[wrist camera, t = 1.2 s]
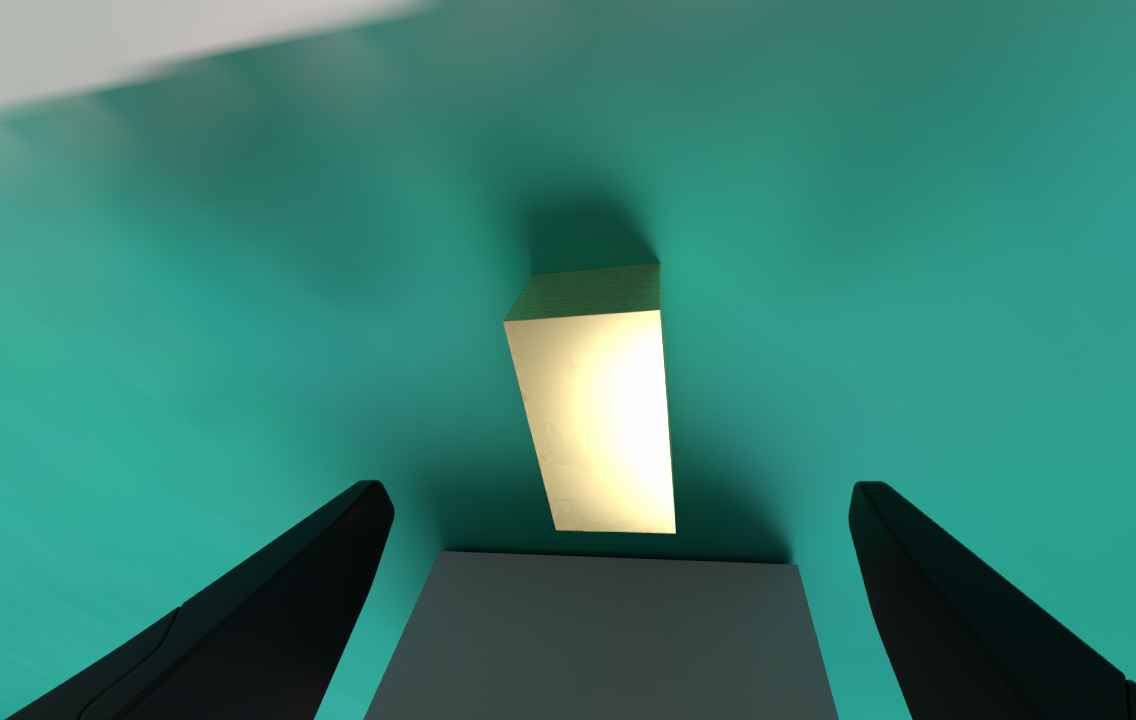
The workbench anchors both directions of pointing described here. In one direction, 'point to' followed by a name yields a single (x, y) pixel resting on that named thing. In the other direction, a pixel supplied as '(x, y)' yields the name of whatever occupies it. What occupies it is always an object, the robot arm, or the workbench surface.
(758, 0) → the workbench surface
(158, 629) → the robot arm
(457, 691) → the slot box
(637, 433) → the tall cream wooden block
